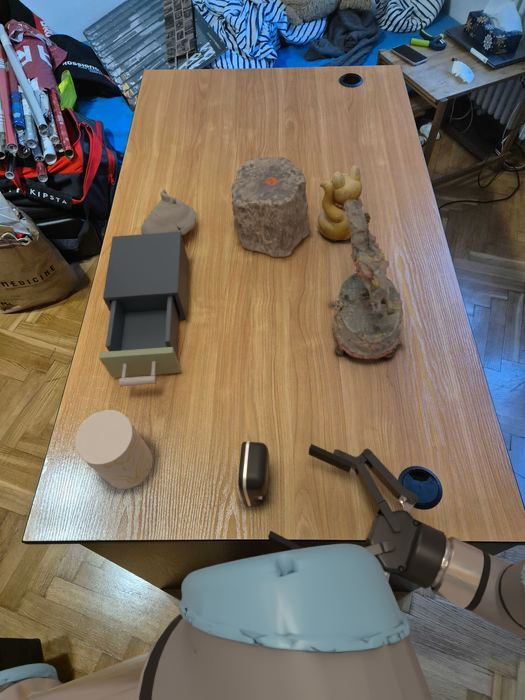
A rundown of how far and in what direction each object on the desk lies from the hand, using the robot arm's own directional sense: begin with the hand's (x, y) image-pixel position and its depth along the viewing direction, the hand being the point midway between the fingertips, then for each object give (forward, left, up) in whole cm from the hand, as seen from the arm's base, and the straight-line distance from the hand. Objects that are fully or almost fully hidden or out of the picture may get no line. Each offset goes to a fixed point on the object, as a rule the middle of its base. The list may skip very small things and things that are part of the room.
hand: (290, 490), depth 67 cm
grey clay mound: (-21, +61, -6) cm, 65 cm away
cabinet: (-24, +44, -6) cm, 50 cm away
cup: (-26, +8, -6) cm, 28 cm away
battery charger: (-5, +3, -6) cm, 8 cm away
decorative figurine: (+16, +57, -6) cm, 59 cm away
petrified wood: (+1, +60, -6) cm, 60 cm away
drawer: (-24, +29, -5) cm, 38 cm away
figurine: (+17, +33, -6) cm, 37 cm away
